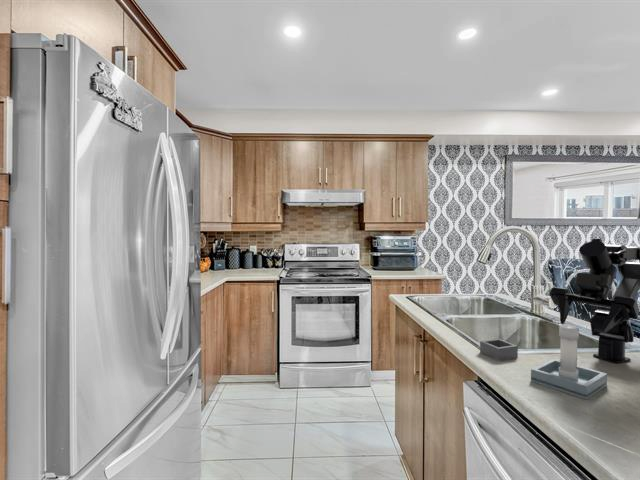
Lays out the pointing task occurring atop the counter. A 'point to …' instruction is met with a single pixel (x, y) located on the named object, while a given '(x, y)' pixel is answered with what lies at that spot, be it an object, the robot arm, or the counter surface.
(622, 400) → the counter surface
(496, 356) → the light bulb socket
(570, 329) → the white rounded column
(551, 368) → the parts tray
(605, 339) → the robot arm
